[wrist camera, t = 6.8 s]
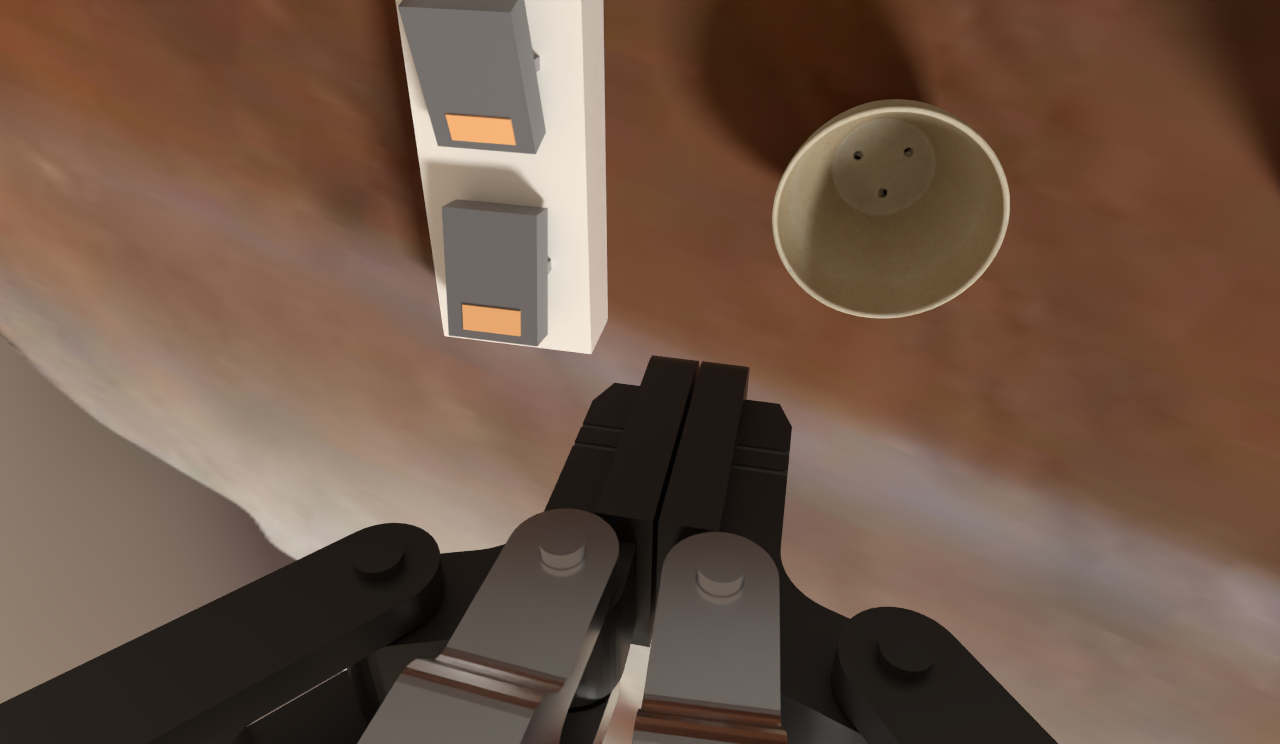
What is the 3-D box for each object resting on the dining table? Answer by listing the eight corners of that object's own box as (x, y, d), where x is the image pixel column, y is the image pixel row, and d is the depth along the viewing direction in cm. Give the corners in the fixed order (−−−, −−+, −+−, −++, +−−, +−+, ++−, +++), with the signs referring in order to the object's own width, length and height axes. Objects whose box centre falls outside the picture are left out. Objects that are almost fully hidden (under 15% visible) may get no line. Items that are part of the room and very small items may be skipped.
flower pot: (814, 42, 39) (808, 81, 34) (1022, 90, 39) (1052, 139, 33) (760, 229, 45) (748, 289, 39) (940, 274, 44) (954, 342, 39)
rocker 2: (547, 207, 42) (535, 216, 40) (547, 334, 45) (536, 347, 43) (456, 199, 43) (440, 207, 41) (462, 324, 46) (447, 335, 44)
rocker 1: (522, -9, 35) (509, 13, 34) (545, 132, 40) (535, 155, 39) (413, -14, 36) (396, 7, 35) (450, 124, 41) (437, 147, 40)
